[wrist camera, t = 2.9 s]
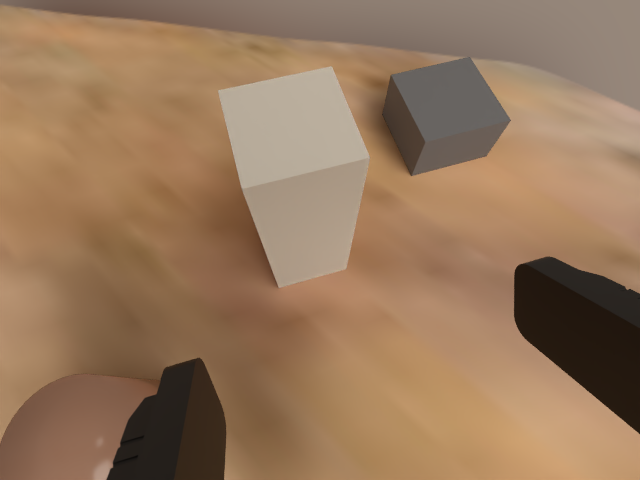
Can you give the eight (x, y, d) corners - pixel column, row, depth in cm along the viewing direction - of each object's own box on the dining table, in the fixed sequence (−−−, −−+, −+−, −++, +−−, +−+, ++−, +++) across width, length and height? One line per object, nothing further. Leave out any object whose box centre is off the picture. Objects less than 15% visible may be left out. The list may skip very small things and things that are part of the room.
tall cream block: (278, 288, 23) (241, 189, 12) (263, 226, 25) (217, 90, 14) (346, 269, 24) (370, 157, 12) (326, 210, 25) (331, 66, 14)
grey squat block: (411, 177, 27) (425, 141, 23) (382, 115, 29) (391, 74, 25) (485, 157, 27) (510, 120, 24) (451, 99, 29) (469, 57, 26)
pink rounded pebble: (104, 497, 19) (-9, 550, 12) (99, 395, 21) (-1, 396, 14) (201, 465, 19) (141, 500, 13) (187, 369, 21) (130, 358, 15)
